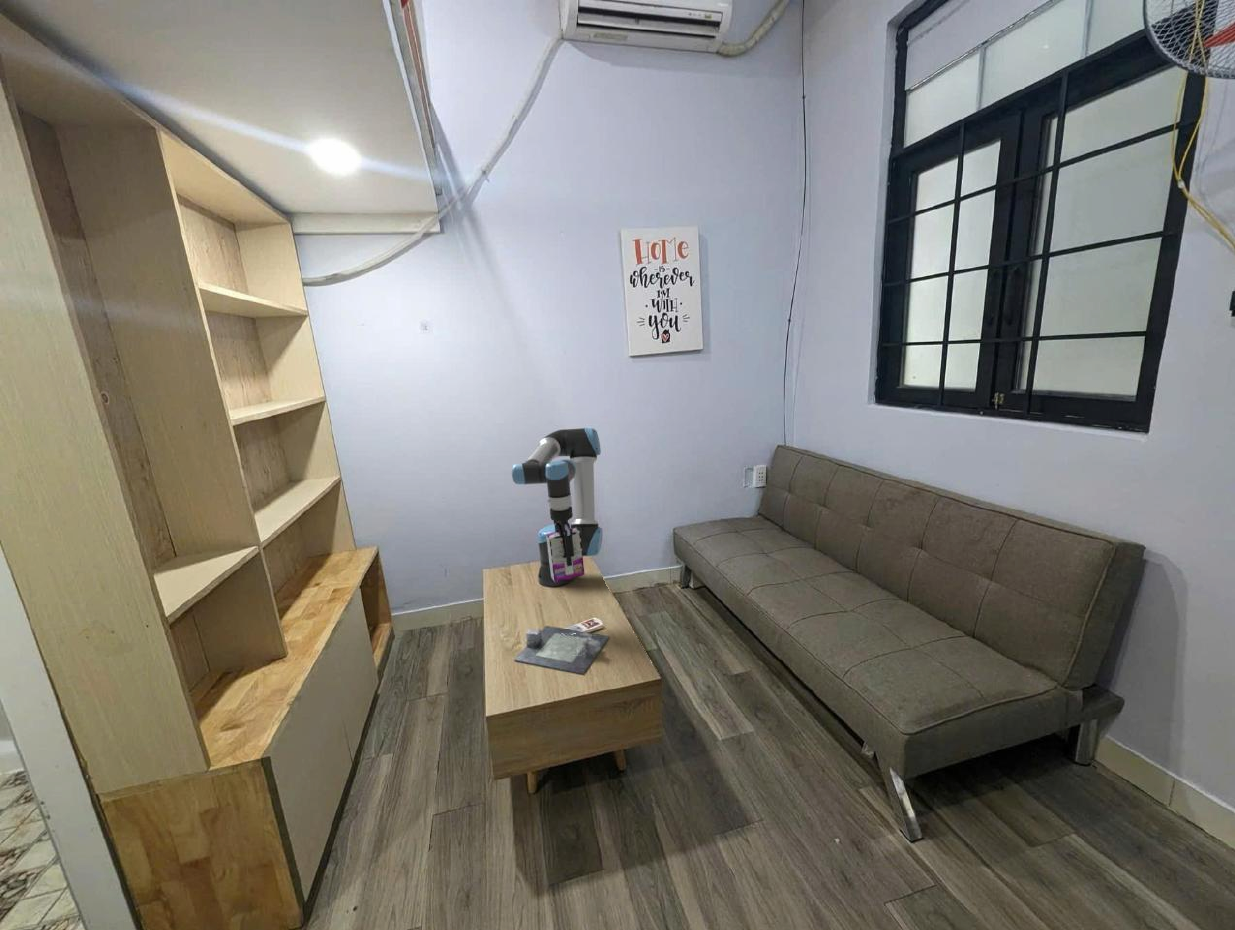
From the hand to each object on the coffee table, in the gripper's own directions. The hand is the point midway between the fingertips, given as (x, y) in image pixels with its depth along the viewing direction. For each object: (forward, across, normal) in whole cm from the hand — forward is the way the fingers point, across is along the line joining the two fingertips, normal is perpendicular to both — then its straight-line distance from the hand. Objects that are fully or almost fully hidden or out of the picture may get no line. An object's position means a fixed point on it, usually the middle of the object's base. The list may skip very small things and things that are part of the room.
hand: (567, 570), depth 168 cm
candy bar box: (+3, 0, 0) cm, 3 cm away
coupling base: (+19, +15, -8) cm, 26 cm away
